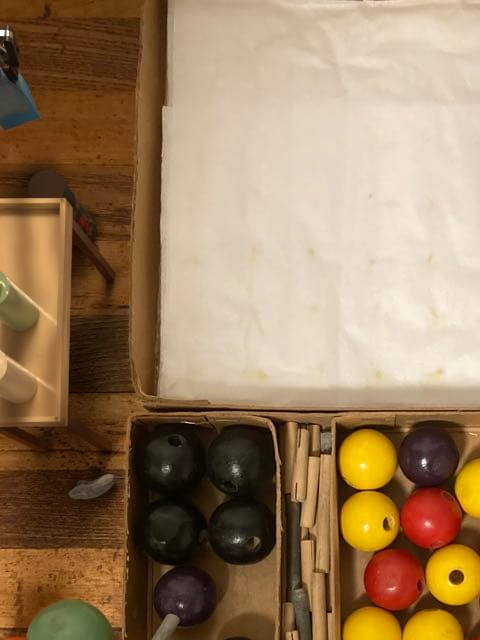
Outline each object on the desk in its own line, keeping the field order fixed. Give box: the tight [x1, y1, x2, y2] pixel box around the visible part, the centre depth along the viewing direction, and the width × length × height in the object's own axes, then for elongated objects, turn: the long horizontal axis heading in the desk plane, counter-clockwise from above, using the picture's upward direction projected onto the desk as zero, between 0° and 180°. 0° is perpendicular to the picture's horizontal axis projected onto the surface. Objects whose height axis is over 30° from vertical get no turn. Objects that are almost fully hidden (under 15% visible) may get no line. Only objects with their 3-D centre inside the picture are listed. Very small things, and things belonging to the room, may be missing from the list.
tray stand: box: [0, 197, 116, 453], centre depth 136 cm, size 14×34×25 cm, turn 1°
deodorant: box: [27, 169, 98, 247], centre depth 143 cm, size 6×6×15 cm
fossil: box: [68, 473, 117, 500], centre depth 144 cm, size 8×4×5 cm, turn 112°
